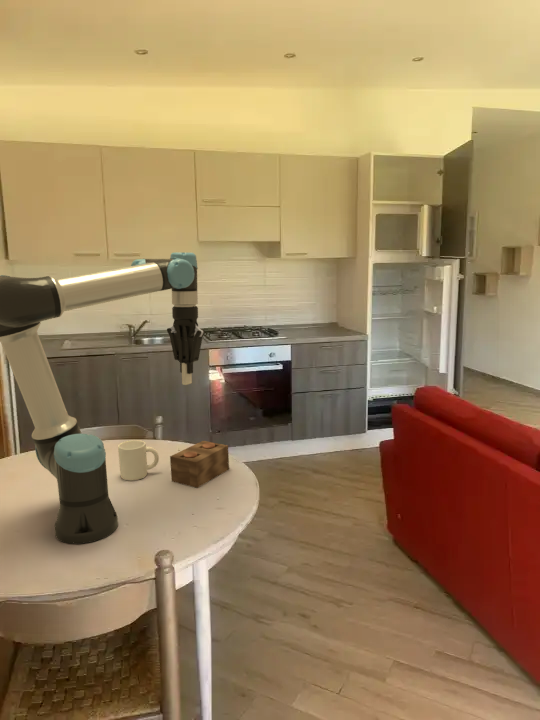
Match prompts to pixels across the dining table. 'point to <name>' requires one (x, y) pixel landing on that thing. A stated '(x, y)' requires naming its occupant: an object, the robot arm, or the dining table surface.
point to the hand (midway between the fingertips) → (187, 383)
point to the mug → (135, 459)
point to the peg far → (208, 446)
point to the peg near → (190, 455)
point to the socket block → (199, 464)
